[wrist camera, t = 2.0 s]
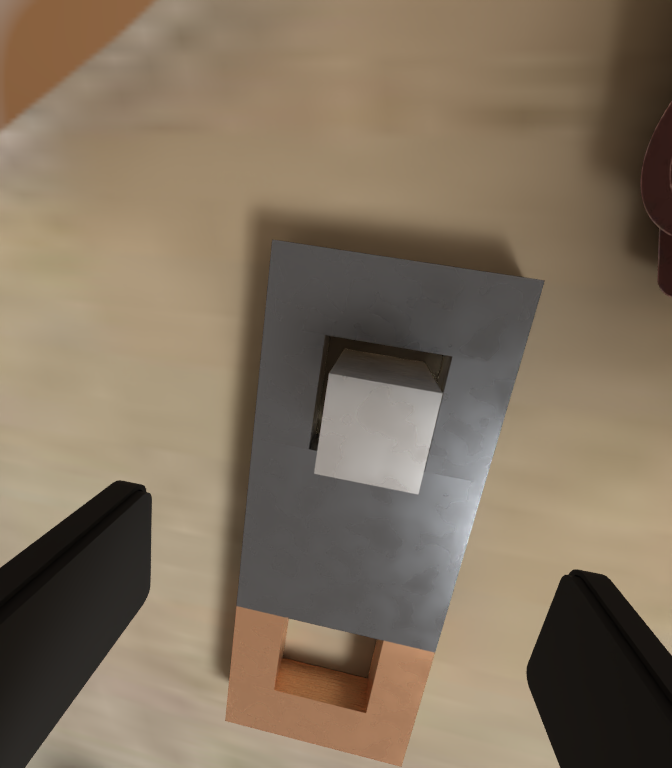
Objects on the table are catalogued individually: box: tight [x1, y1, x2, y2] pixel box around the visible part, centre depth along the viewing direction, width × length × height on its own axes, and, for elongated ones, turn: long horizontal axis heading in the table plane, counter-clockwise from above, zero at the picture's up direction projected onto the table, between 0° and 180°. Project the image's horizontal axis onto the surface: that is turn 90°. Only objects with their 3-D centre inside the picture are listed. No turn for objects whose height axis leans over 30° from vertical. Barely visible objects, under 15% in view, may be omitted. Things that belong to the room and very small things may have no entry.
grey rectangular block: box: [314, 349, 443, 494], centre depth 20 cm, size 5×5×7 cm
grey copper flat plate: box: [225, 240, 544, 766], centre depth 25 cm, size 14×36×2 cm, turn 171°
